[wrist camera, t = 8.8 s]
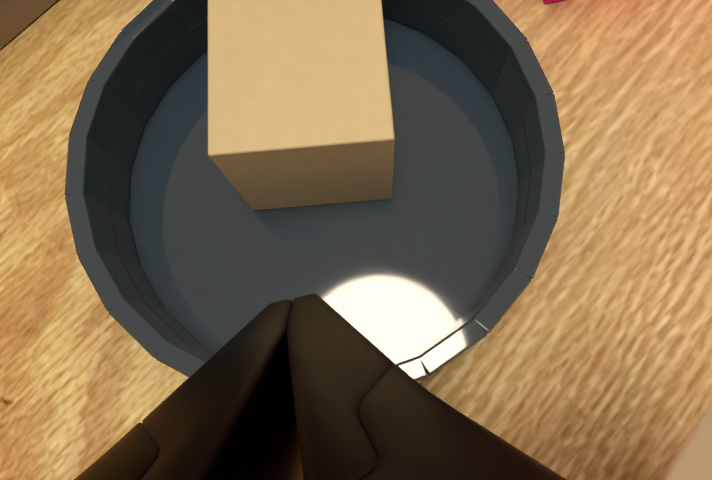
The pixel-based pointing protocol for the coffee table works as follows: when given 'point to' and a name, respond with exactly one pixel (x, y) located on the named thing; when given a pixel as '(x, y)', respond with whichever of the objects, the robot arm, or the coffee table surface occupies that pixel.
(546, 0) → the toy block
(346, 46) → the block
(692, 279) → the coffee table surface
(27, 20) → the grey angular block
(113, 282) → the bowl
